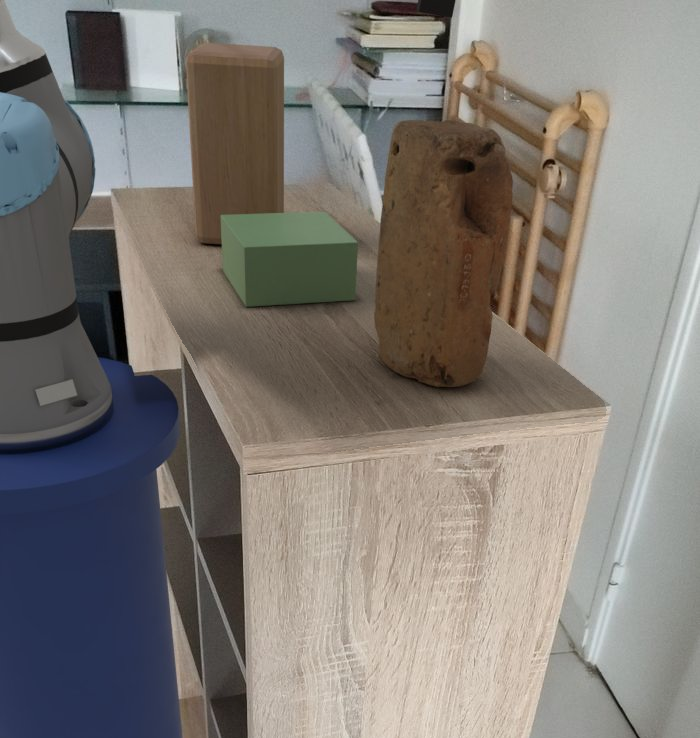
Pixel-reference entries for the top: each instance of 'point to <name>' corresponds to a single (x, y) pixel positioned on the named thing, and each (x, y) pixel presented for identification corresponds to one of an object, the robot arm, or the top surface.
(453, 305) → the brown porous chunk
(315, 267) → the green base
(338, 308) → the top surface
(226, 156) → the wooden block
